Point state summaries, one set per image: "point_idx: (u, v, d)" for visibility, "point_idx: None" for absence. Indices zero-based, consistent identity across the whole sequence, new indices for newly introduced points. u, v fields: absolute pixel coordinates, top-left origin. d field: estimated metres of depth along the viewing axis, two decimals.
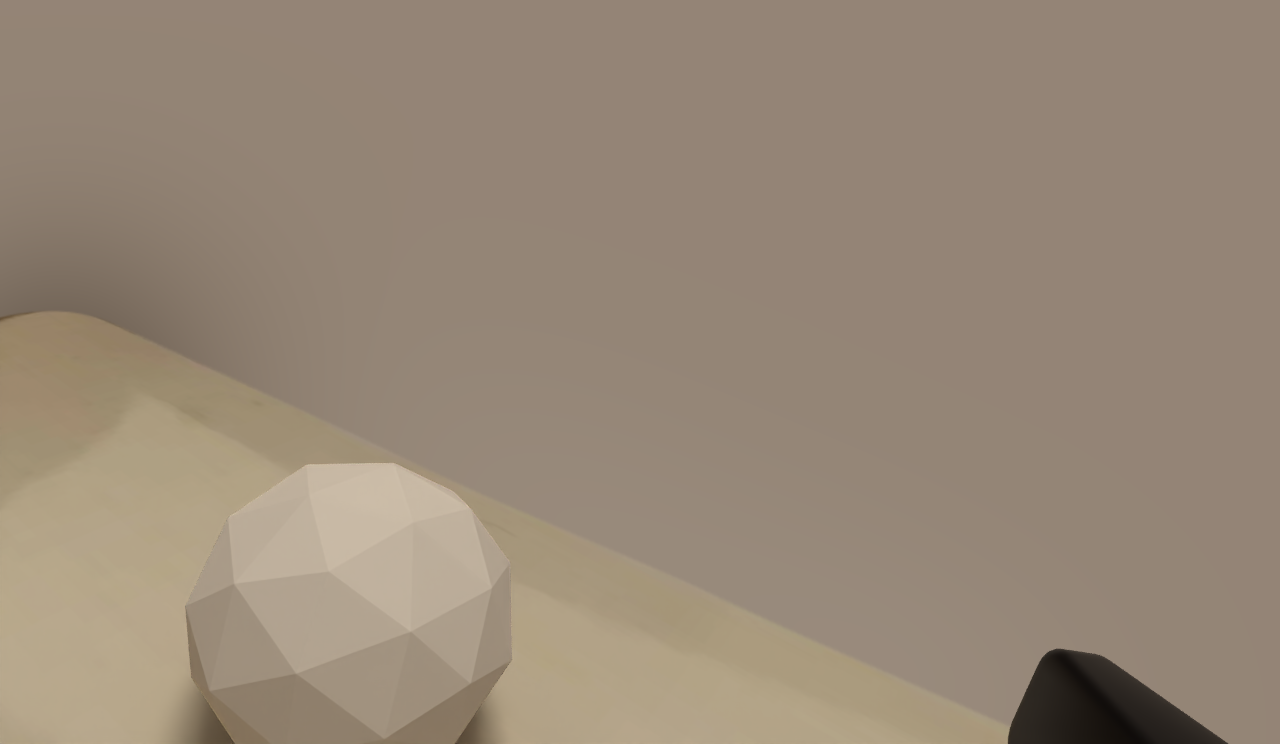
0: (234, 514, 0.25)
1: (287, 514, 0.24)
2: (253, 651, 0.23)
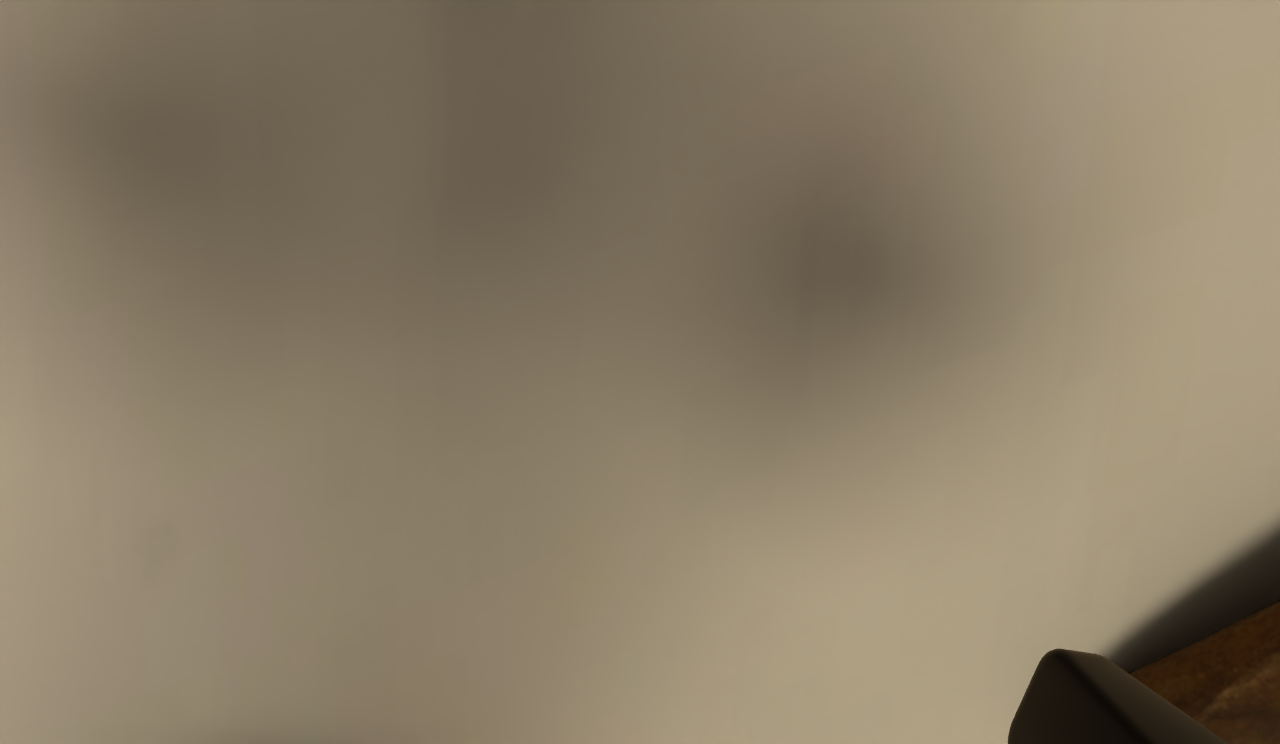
0: None
1: None
2: None
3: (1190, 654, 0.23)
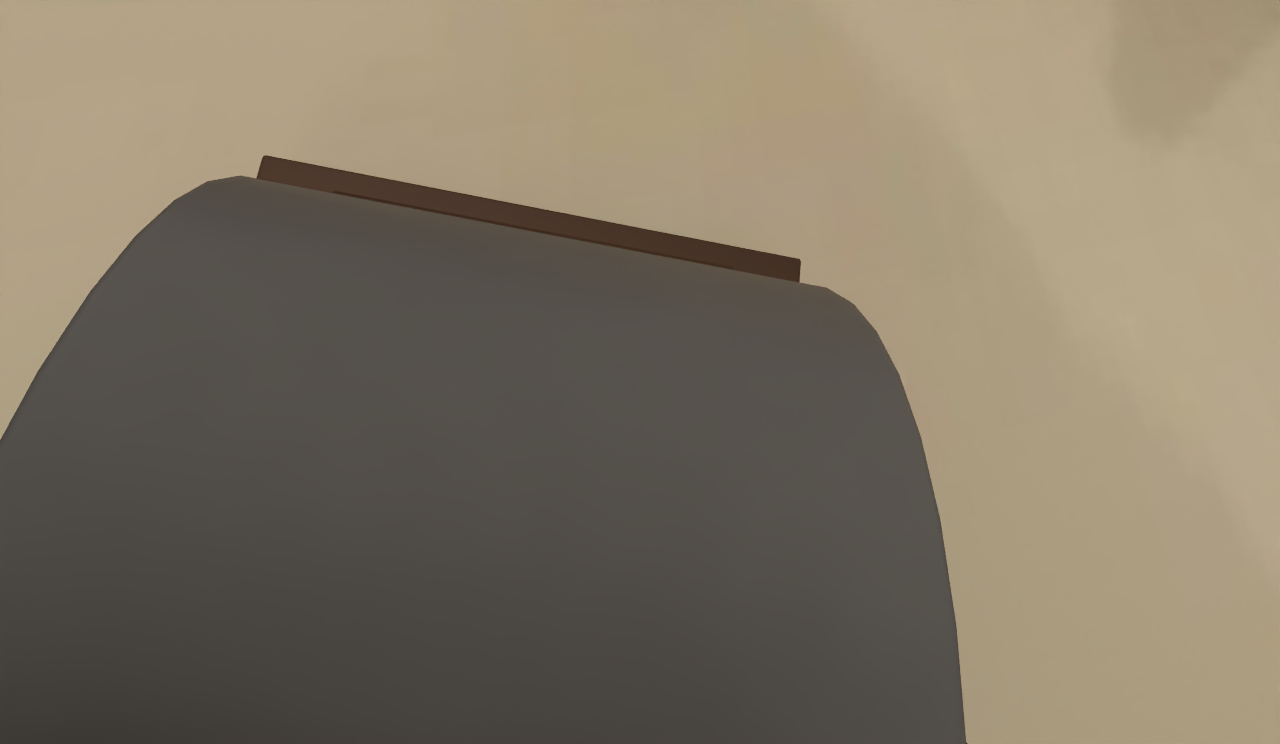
0: None
1: None
2: None
3: None
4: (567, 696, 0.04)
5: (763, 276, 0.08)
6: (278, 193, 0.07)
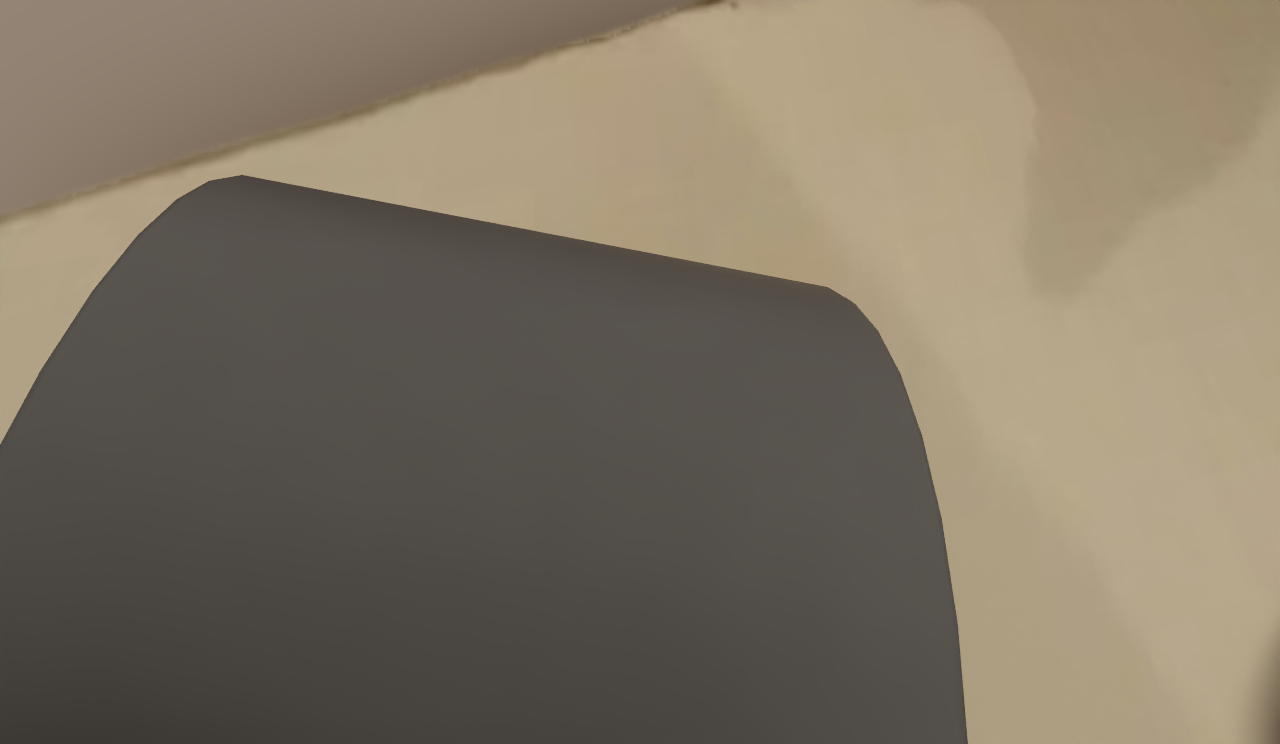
0: None
1: None
2: None
3: None
4: (569, 694, 0.04)
5: (764, 275, 0.08)
6: (279, 192, 0.07)
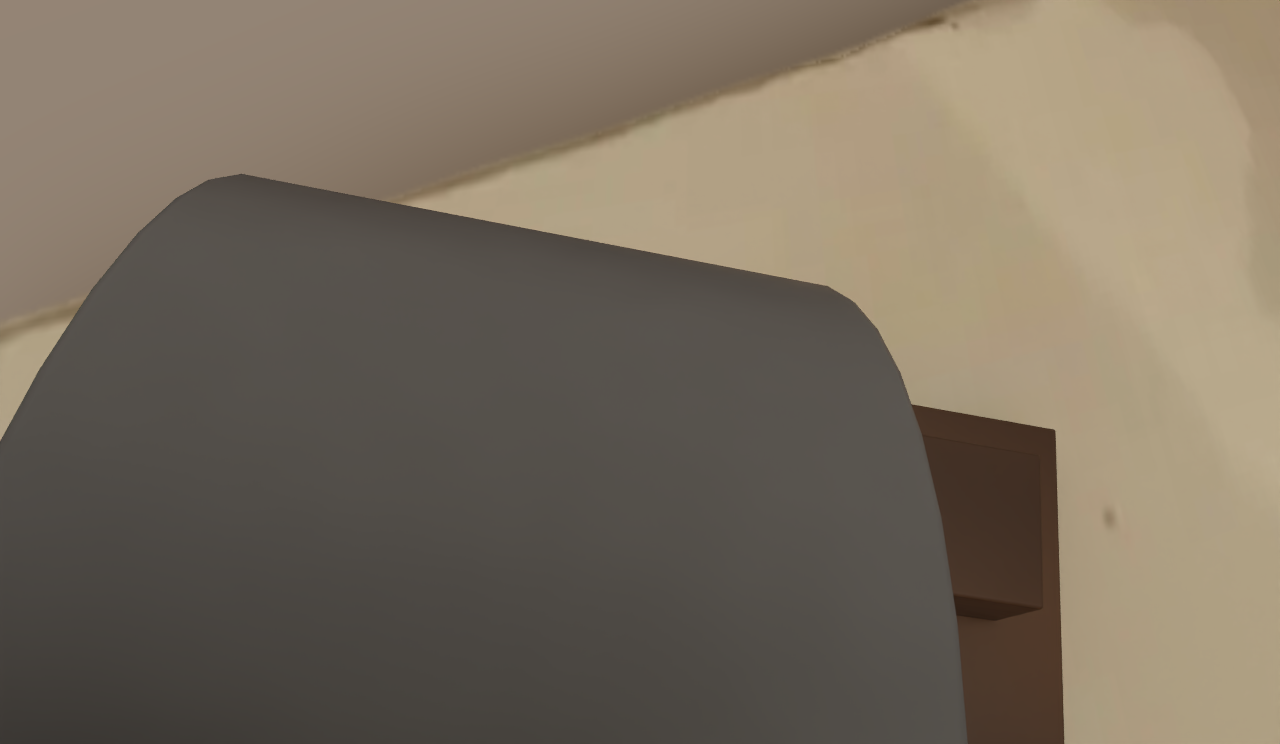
0: None
1: None
2: None
3: None
4: (568, 692, 0.04)
5: (764, 274, 0.08)
6: (279, 191, 0.07)
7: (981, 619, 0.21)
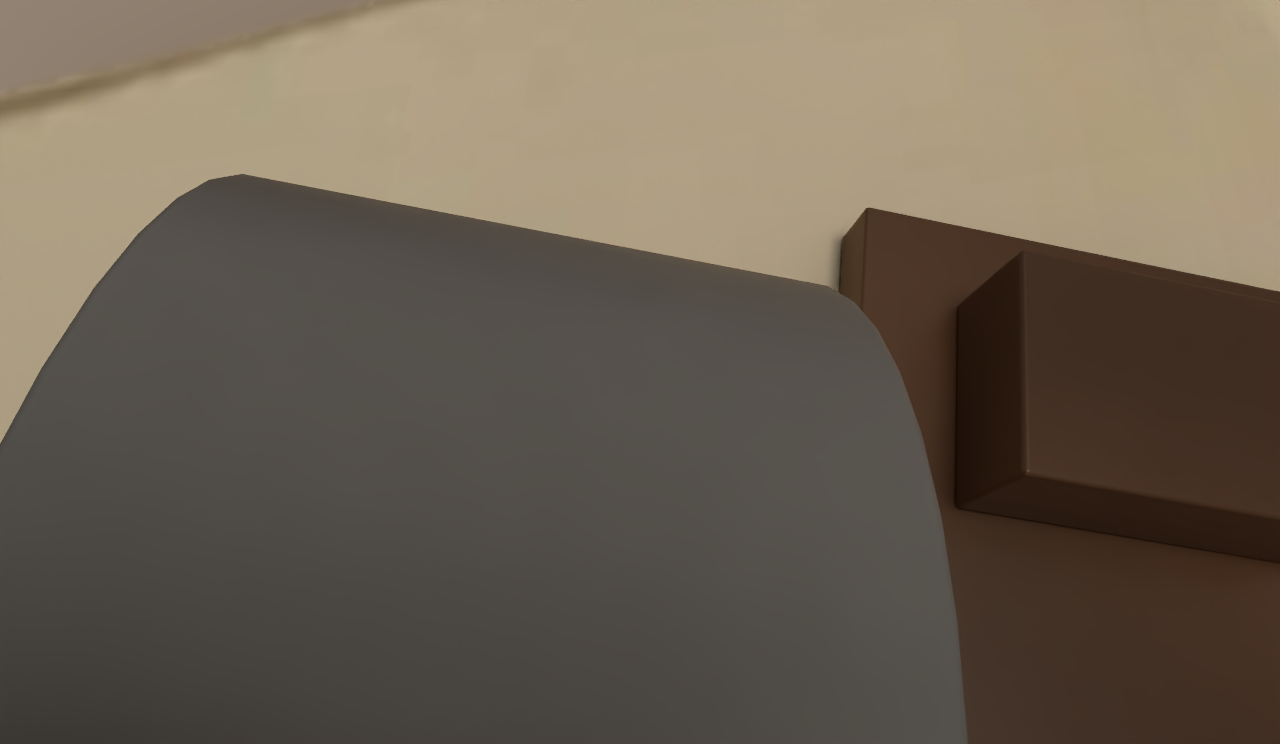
0: None
1: None
2: None
3: None
4: (569, 691, 0.04)
5: (764, 274, 0.08)
6: (280, 191, 0.07)
7: None
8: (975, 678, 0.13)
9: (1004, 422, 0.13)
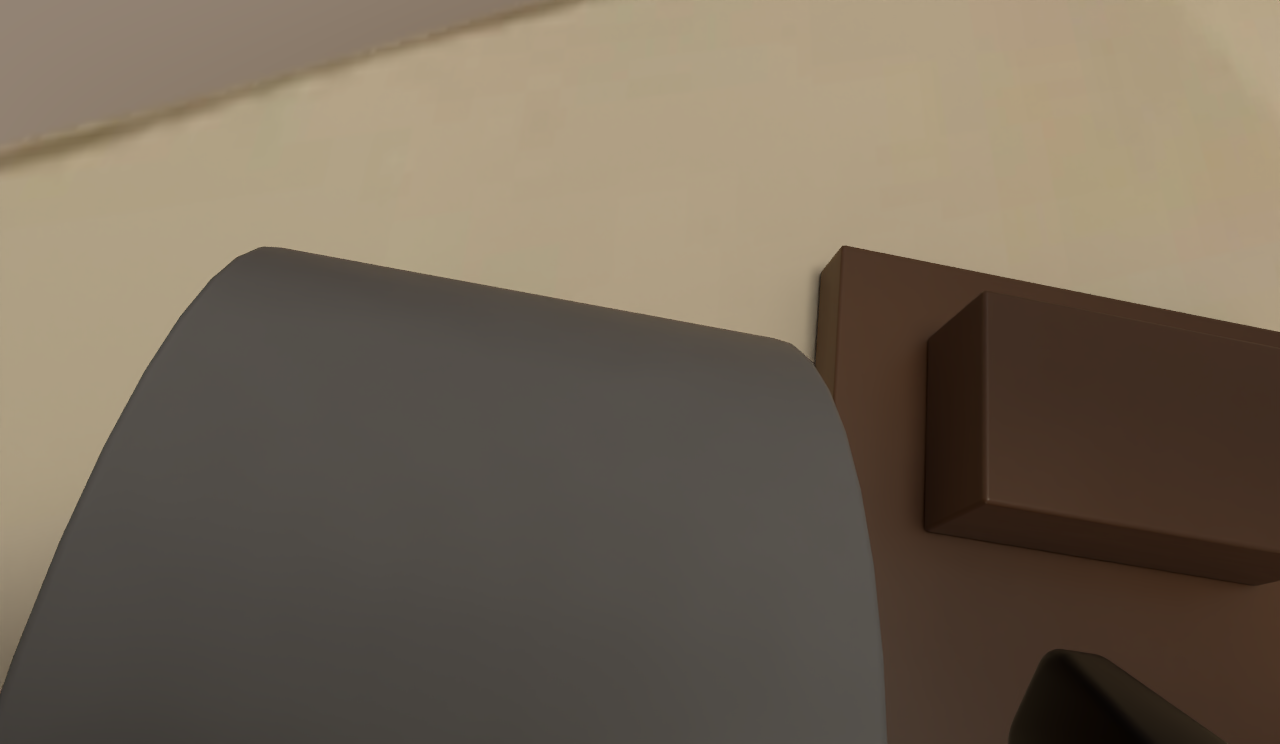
0: None
1: None
2: None
3: None
4: (551, 720, 0.05)
5: (732, 333, 0.09)
6: (299, 267, 0.08)
7: (1237, 584, 0.15)
8: (940, 691, 0.14)
9: (967, 452, 0.14)
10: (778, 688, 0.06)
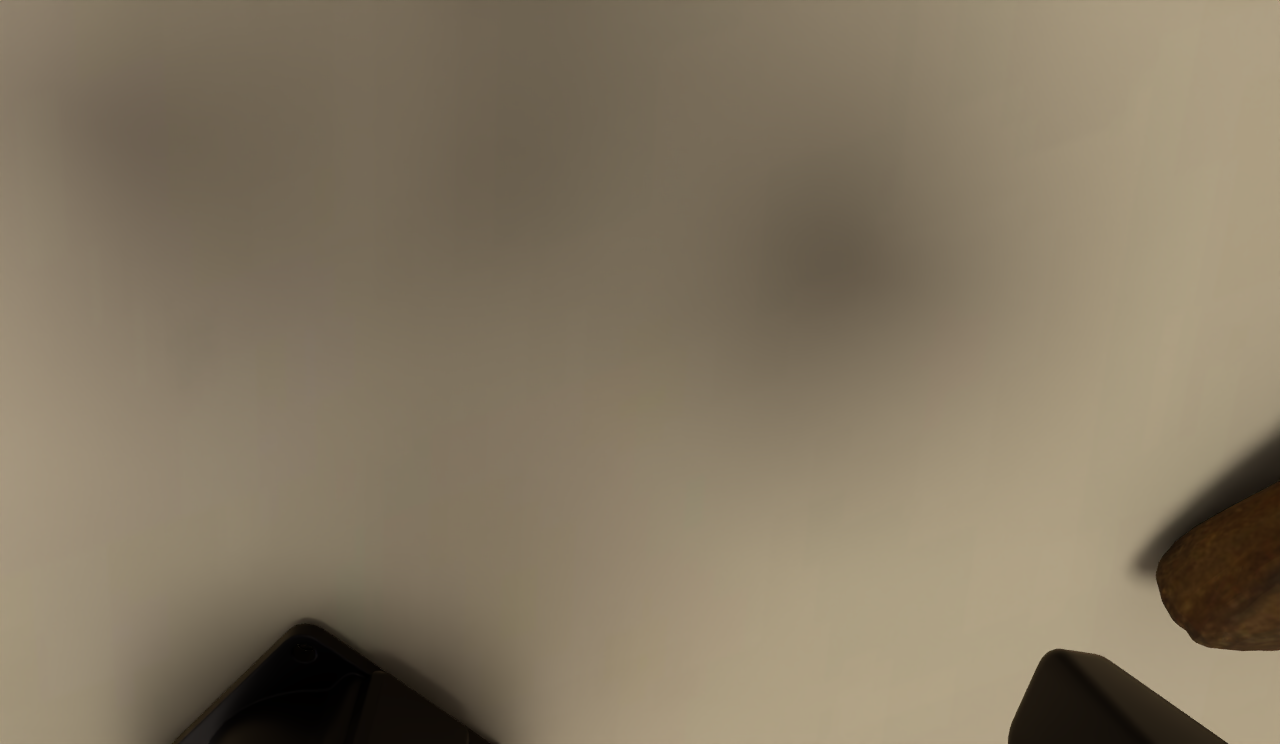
0: None
1: None
2: None
3: None
4: None
5: None
6: None
7: None
8: None
9: None
10: None
